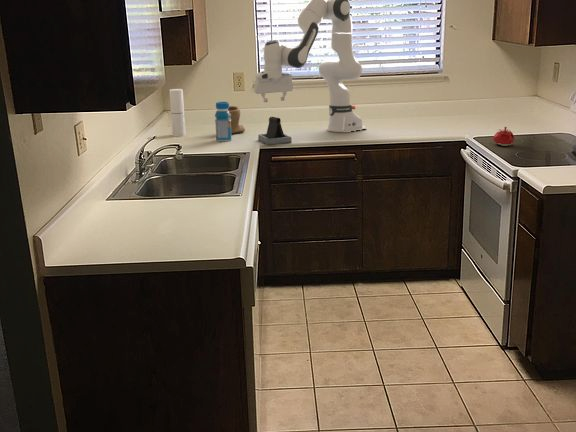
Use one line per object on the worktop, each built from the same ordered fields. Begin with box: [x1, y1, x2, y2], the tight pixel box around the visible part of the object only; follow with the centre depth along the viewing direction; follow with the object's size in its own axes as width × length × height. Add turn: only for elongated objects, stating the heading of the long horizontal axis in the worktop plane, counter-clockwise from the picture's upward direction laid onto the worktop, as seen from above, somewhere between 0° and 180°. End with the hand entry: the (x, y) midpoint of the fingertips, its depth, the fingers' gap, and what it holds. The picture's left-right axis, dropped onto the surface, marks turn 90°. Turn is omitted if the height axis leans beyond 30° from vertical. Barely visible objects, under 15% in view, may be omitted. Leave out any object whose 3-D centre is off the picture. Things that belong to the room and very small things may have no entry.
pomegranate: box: [492, 126, 515, 144], centre depth 316 cm, size 10×10×9 cm
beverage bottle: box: [214, 101, 233, 143], centre depth 336 cm, size 8×8×20 cm
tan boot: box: [228, 105, 246, 134], centre depth 356 cm, size 15×12×15 cm
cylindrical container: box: [169, 88, 187, 137], centre depth 351 cm, size 7×7×25 cm
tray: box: [257, 133, 292, 146], centre depth 334 cm, size 13×14×3 cm
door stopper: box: [265, 116, 285, 139], centre depth 333 cm, size 9×6×12 cm, turn 130°
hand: (274, 101), depth 328 cm, fingers open, 8 cm apart
